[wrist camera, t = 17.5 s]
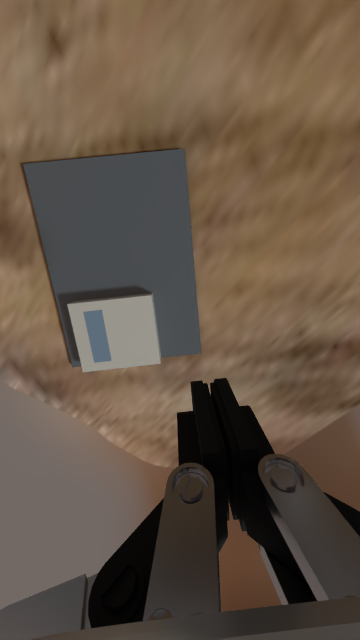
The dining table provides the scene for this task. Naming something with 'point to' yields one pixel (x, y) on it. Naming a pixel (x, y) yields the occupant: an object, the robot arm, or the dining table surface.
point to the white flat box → (116, 332)
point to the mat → (120, 238)
